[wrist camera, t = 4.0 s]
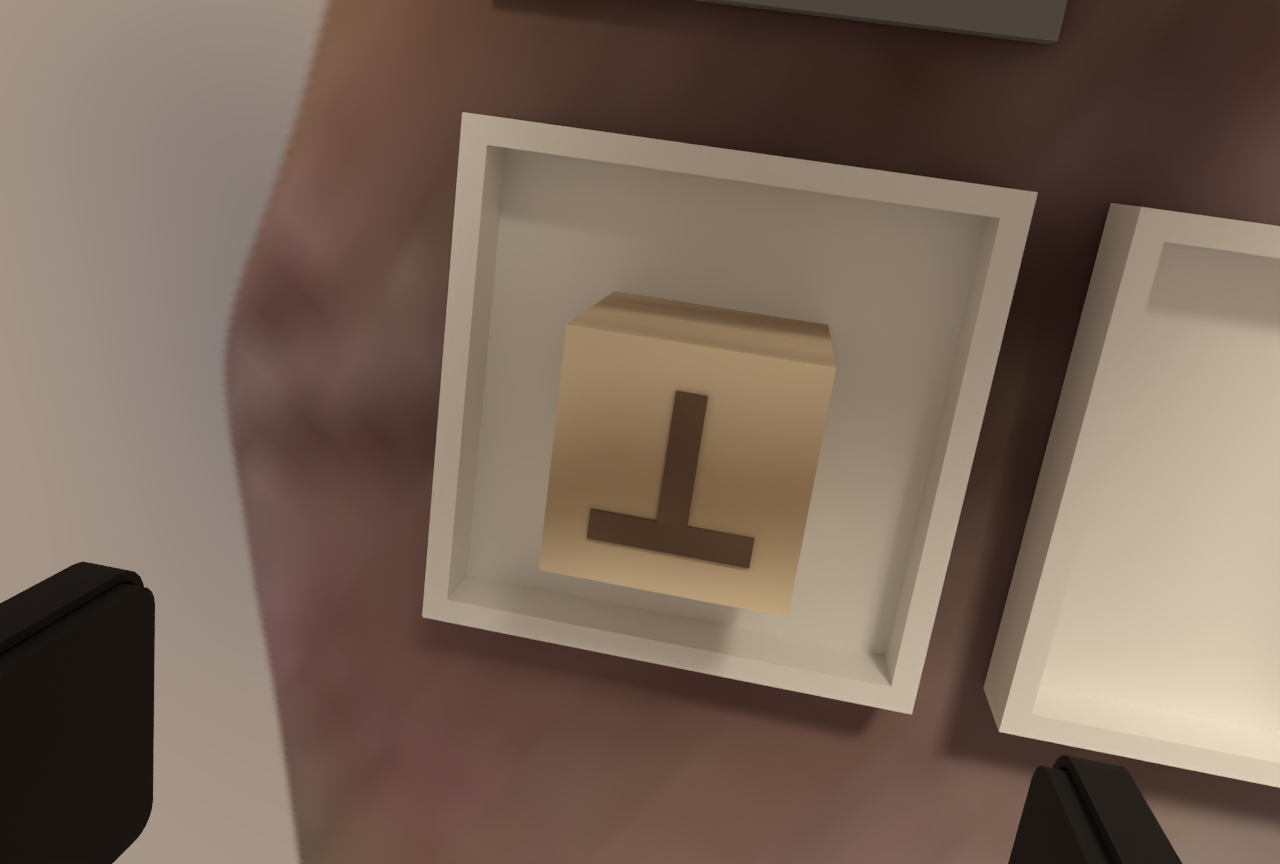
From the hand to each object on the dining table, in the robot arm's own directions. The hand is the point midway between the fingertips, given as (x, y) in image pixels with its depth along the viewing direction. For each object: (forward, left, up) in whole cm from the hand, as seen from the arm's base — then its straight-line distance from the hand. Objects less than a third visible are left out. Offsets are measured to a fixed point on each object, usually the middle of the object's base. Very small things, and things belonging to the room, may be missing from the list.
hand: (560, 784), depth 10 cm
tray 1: (-1, 0, -15) cm, 15 cm away
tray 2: (-1, +14, -15) cm, 20 cm away
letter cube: (-1, 0, -14) cm, 14 cm away
